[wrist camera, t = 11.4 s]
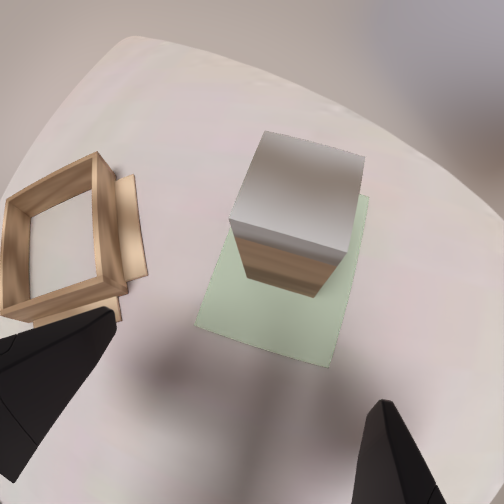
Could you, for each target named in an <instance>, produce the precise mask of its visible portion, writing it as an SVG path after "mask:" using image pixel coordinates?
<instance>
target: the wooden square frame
mask: <svg viewBox="0 0 504 504" xmlns="http://www.w3.org/2000/svg"><path fill="white" fill-rule="evenodd" d="M90 189H92V219H93V238H94V252H95V263H96V273H97V277H95V278H92V279H89V280H86V281H83V282H80V283H77V284H74V285H71V286H68V287H65V288H62V289H59V290H56V291H53V292H50V293H47V294H45V295H42V296H39V297H36V298H33V299H30V291H29V237H30V220H31V217H33V216H35V215H37V214H39V213H41V212H43V211H45V210H47V209H49V208H51V207H53V206H55V205H57V204H59V203H61V202H63V201H66V200H68V199H70V198H72V197H74V196H76V195H79V194H81V193H83V192H85V191H88V190H90ZM144 276H148V273H147V267H146V261H145V255H144V249H143V242H142V236H141V229H140V221H139V214H138V205H137V197H136V187H135V177H134V174H132V175H129V176H127V177H124V178H122V179H119V180H116V175H115V173H114V172H113V171H112V170H111V168H110V167H109V166H108V164H107V163H106V162H105V160H104V159H103V158H102V157H101V155H100V154H99V153H98V151H97V152H94V153H92V154H90V155H88V156H86V157H83V158H81V159H79V160H77V161H75V162H73V163H71V164H69V165H67V166H65V167H63V168H61V169H59V170H57V171H55V172H53V173H51V174H49V175H47V176H46V177H44V178H42V179H40V180H38V181H36V182H35V183H33V184H31V185H29V186H28V187H26V188H24V189H22V190H21V191H19V192H17V193H16V194H14V195H12V196H11V197H9V198H8V199H6V204H5V211H4V219H3V228H2V238H1V252H0V316H3V317H7V318H11V319H15V320H19V321H23V322H27V323H30V322H33V326H34V328H37V327H40V326H43V325H46V324H49V323H52V322H55V321H58V320H61V319H64V318H68V317H71V316H74V315H77V314H80V313H83V312H86V311H89V310H92V309H95V308H98V307H101V306H106V307H108V308H110V309H112V310H114V312H115V318H116V322H119V321H122V318H121V312H120V307H119V301H118V297H119V296H122V295H126V294H128V289H127V283H126V282H128V281H131V280H135V279H138V278H141V277H144Z"/></svg>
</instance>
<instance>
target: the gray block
mask: <svg viewBox="0 0 504 504" xmlns="http://www.w3.org/2000/svg"><path fill="white" fill-rule="evenodd" d="M364 162H365V157H364V156H360V155H357V154H354V153H351V152H347V151H344V150H341V149H337V148H334V147H330V146H326V145H323V144H319V143H315V142H311V141H308V140H304V139H300V138H295V137H291V136H287V135H283V134H278V133H274V132H269V131H264V133H263V136H262V138H261V140H260V143H259V145H258V148H257V150H256V152H255V155H254V157H253V159H252V162H251V164H250V167H249V169H248V171H247V174H246V176H245V179H244V181H243V184H242V186H241V188H240V191H239V193H238V196H237V198H236V201H235V203H234V206H233V208H232V211H231V213H230V216H229V222H230V225H231V228H232V231H233V235H234V238H235V241H236V244H237V248H238V251H239V254H240V257H241V261H242V264H243V267H244V270H245V273H246V277H247V278H248V279H252V280H255V281H258V282H261V283H265V284H268V285H271V286H275V287H278V288H281V289H284V290H288V291H291V292H294V293H298V294H301V295H304V296H308V297H311V298H314V297H315V295H316V294H317V293H318V292H319V290H320V289H321V288H322V286H323V285H324V284H325V282H326V281H327V280H328V278H329V277H330V276H331V274H332V273H333V272H334V270H335V269H336V268H337V266H338V265H339V263H340V262H341V261H342V259H343V258H344V257H345V255H346V254H347V252H348V247H349V243H350V238H351V234H352V229H353V224H354V219H355V214H356V209H357V203H358V198H359V192H360V186H361V181H362V174H363V168H364Z"/></svg>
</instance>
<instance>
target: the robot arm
mask: <svg viewBox="0 0 504 504" xmlns="http://www.w3.org/2000/svg"><path fill="white" fill-rule="evenodd" d="M116 330H117V326H116V318H115V312H114V310H112V309H110V308H108V307H106V306H101V307H98V308H95V309H92V310H89V311H86V312H83V313H80V314H77V315H74V316H71V317H68V318H64V319H61V320H58V321H55V322H52V323H49V324H46V325H43V326H40V327H37V328H34V329H31V330H27V331H24V332H21V333H18V334H15V335H12V336H9V337H5V338H2V339H0V474H1V475H3V476H4V477H5V478H7V479H8V480H9V481H11V482H12V483H15V482H16V480H17V479H18V477H19V475H20V474H21V472H22V471H23V469H24V468H25V466H26V465H27V463H28V461H29V460H30V458H31V457H32V455H33V454H34V452H35V451H36V449H37V448H38V446H39V445H40V443H41V442H42V440H43V439H44V437H45V436H46V434H47V433H48V431H49V430H50V428H51V427H52V426H53V424H54V423H55V421H56V420H57V418H58V417H59V416H60V414H61V413H62V411H63V410H64V409H65V407H66V406H67V404H68V403H69V402H70V400H71V399H72V397H73V396H74V395H75V393H76V392H77V391H78V389H79V388H80V387H81V385H82V384H83V382H84V381H85V380H86V378H87V377H88V376H89V374H90V373H91V372H92V370H93V369H94V368H95V366H96V365H97V363H98V362H99V360H100V358H101V356H102V355H103V353H104V351H105V350H106V348H107V346H108V345H109V343H110V342H111V340H112V338H113V337H114V335H115V333H116ZM351 504H447V503H446V501H445V499H444V498H443V496H442V494H441V492H440V490H439V488H438V486H437V485H436V482H435V480H434V478H433V476H432V474H431V472H430V470H429V468H428V466H427V464H426V462H425V460H424V458H423V456H422V455H421V453H420V451H419V449H418V447H417V445H416V443H415V441H414V439H413V438H412V436H411V434H410V432H409V430H408V428H407V427H406V425H405V423H404V421H403V419H402V417H401V416H400V414H399V412H398V410H397V408H396V407H395V405H394V403H393V402H392V401H390V400H385V399H381V400H379V401H378V402H377V403H376V404H375V406H374V407H373V408H372V409H371V411H370V412H369V413H368V415H367V418H366V422H365V427H364V432H363V437H362V442H361V446H360V451H359V455H358V461H357V468H356V476H355V483H354V490H353V496H352V502H351Z"/></svg>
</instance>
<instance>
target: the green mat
mask: <svg viewBox="0 0 504 504" xmlns="http://www.w3.org/2000/svg"><path fill="white" fill-rule="evenodd" d="M368 201H369V197H367V196H364V195H361V194H359V198H358V203H357V209H356V214H355V219H354V224H353V229H352V234H351V238H350V243H349V247H348V252H347V254H346V255H345V257H344V258H343V259H342V261H341V262H340V263H339V265H338V266H337V268H336V269H335V270H334V272H333V273H332V274H331V276H330V277H329V278H328V280H327V281H326V282H325V284H324V285H323V286H322V288H321V289H320V290H319V292H318V293H317V294H316V295H315V297H314V298H311V297H308V296H304V295H301V294H298V293H294V292H291V291H288V290H284V289H281V288H278V287H275V286H271V285H268V284H265V283H261V282H258V281H255V280H252V279H248V278H247V277H246V273H245V270H244V267H243V264H242V261H241V257H240V254H239V251H238V248H237V244H236V241H235V238H234V235H233V231H232V228H230V230H229V233H228V235H227V238H226V241H225V243H224V246H223V248H222V251H221V254H220V256H219V259H218V262H217V264H216V267H215V270H214V272H213V275H212V278H211V280H210V283H209V286H208V288H207V291H206V294H205V296H204V299H203V302H202V305H201V307H200V310H199V313H198V316H197V318H196V321H195V324H194V326H197V327H199V328H202V329H205V330H207V331H210V332H213V333H216V334H219V335H221V336H224V337H227V338H230V339H233V340H236V341H239V342H242V343H245V344H248V345H251V346H254V347H257V348H260V349H263V350H267V351H270V352H273V353H276V354H280V355H283V356H286V357H290V358H293V359H296V360H300V361H303V362H307V363H311V364H314V365H318V366H322V367H325V368H329V365H330V362H331V359H332V356H333V352H334V349H335V346H336V342H337V339H338V335H339V332H340V328H341V325H342V321H343V317H344V314H345V310H346V306H347V302H348V298H349V294H350V290H351V286H352V282H353V278H354V273H355V269H356V264H357V260H358V255H359V250H360V245H361V240H362V235H363V230H364V225H365V219H366V213H367V208H368Z"/></svg>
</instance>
